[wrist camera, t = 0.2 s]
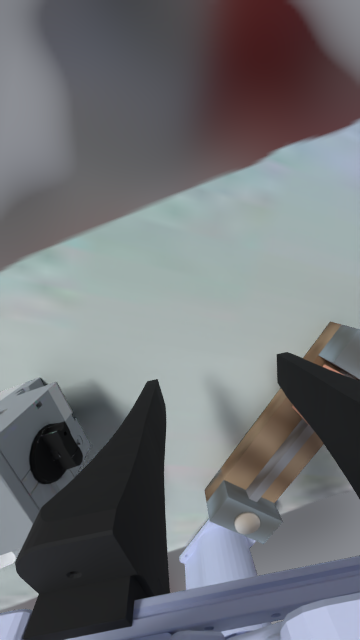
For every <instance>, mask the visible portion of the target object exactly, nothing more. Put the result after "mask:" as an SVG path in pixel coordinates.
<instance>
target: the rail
mask: <svg viewBox="0 0 360 640" xmlns="http://www.w3.org/2000/svg"><path fill="white" fill-rule="evenodd" d="M303 359H305V360H308V361H310V362H312V363H315V364H317V365H319V366H322V367H323V365H324V364H325V365H327V366H329V367H330V368H332V369H334V370H336V371H338V372H339V373H341V374H343V375H345V376H347V377H350V378H353V379H356V380H359V381H360V329H356V328H352V327H349V326H345V325H341V324H337V323H333V322H330V323H329V324H328V325H327V327H326V328H325V329H324V331H323V332H322V334H321V335H320V336H319V338H318V339H317V340H316V342H315V343H314V344H313V346H312V347H311V348H310V350H309V351H308V352H307V354H306V355H305V356H304V358H303ZM292 406H293V404H292V403H291V402H290V401H289V399H288V398H287V397H286V395H285V393H284V392H283V390H282V389H281V388H280V390H279V391H278V392H277V394H276V395H275V396H274V398H273V399H272V400H271V402H270V403H269V404H268V406H267V407H266V408H265V410H264V411H263V413H262V414H261V415H260V417H259V418H258V419H257V421H256V422H255V423H254V425H253V426H252V427H251V429H250V430H249V431H248V433H247V434H246V435H245V437H244V438H243V439H242V441H241V442H240V443H239V445H238V446H237V447H236V449H235V450H234V451H233V453H232V454H231V455H230V457H229V458H228V459H227V461H226V462H225V463H224V465H223V466H222V467H221V469H220V470H219V471H218V473H217V474H216V475H215V477H214V478H213V479H212V481H211V482H210V483H209V485H208V486H207V487H206V489H205V495H206V502H207V508H208V514H209V520H210V522H212V523H215V524H217V525H220V526H222V527H224V528H227V529H229V530H231V531H234V532H236V533H239V534H241V535H243V536H246V537H248V538H250V539H253V540H255V541H258V542H260V543H262V544H264V543H265V542H266V541H267V540H268V539H269V537H270V536H271V535H272V534H273V532H274V531H275V530H276V529H277V528H278V527H279V526H280V525H281V523H282V522H283V521H282V519H281V516H280V514H279V512H278V510H277V508H276V506H275V502H276V501H277V499H278V498H279V497H280V496H281V495H282V493H283V492H284V491H285V490H286V489H287V487H288V486H289V485H290V484H291V483H292V481H293V480H294V479H295V478H296V477H297V475H298V474H299V473H300V472H301V471H302V469H303V468H304V467H305V466H306V465H307V463H308V462H309V461H310V460H311V459H312V457H313V456H314V455H315V454H316V453H317V451H318V450H319V449H320V448H321V447H322V445H323V444H324V443H323V442H322V440H321V439H320V438H319V437H318V435H317V434H316V433H315V431H314V430H313V429H312V428H311V427H310V426H309V425H308V423H307V422H306V421H305V420H304V419H303V418H302V417H301V416H300V415H299V414H298V413H297V412H296V411H295V410H294V409H293V408H292Z"/></svg>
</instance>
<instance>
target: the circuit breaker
mask: <svg viewBox="0 0 360 640" xmlns="http://www.w3.org/2000/svg"><path fill="white" fill-rule="evenodd" d="M72 413H73V411H72V409H71V408H70V406H69V404H68V402H67V400H66V398H65V396H64V395H63V393H62V391H61V389H60V387H59V385H58V383H57V382H54V383H52V384H49V385H46V386H44V385H43V383H42V381H41V379H40V378H37V379H34V380H31V381H28V382H25V383H23V384H20V385H17V386H14V387H11V388H9V389H6V390H3V391H0V555H3V554H6V553H9V552H12V551H15V550H18V549H21V548H22V546H23V544H24V542H25V540H26V538H27V536H28V534H29V532H30V530H31V527H32V525H33V523H34V521H35V519H36V517H37V515H38V513H39V511H40V509H41V508H42V506H43V505H44V504H46V503H47V502H48V501H49V500H50V499H51V498H53V497H54V496H55V495H56V494H57V493H58V492H59V491H60V490H62V489H63V488H64V487H65V486H66V485H67V484H68V483H69V482H71V481H72V480H73V479H74V478H75V477H76V475H77V473H78V471H79V469H80V467H81V465H82V463H83V460H84V458H85V456H86V454H87V452H88V450H89V448H90V446H91V445H90V443H89V441H88V439H87V437H86V435H85V434H84V432H83V430H82V428H81V426H80V424H79V422H78V420H77V419H76V418H73V417H72Z"/></svg>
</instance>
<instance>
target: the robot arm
mask: <svg viewBox="0 0 360 640" xmlns="http://www.w3.org/2000/svg"><path fill="white" fill-rule="evenodd" d="M277 380H278V384H279V385H280V387H281V389H282V390H283V392H284V393H285V395H286V397H287V398H288V399H289V401H290V402H291V403H292V404H293V406H294V407H295V408H296V409H297V411H298V412H299V413H300V414H301V415H302V417H303V418H304V419H305V420H306V422H307V423H308V424H309V425H310V426H311V428H312V429H313V430H314V431H315V433H316V434H317V435H318V437H319V438H320V439H321V440H322V442H323V443H324V445H325V446H326V448H327V449H328V451H329V452H330V454H331V455H332V457H333V458H334V459H335V461H336V462H337V464H338V466H339V467H340V469H341V470H342V472H343V473H344V475H345V476H346V478H347V479H348V481H349V483H350V484H351V486H352V487H353V489H354V491H355V492H356V494H357V495H358V497H359V499H360V381H359V380H356V379H353V378H350V377H347V376H345V375H342V374H339V373H337V372H334V371H332V370H329V369H327V368H324V367H322V366H319V365H317V364H315V363H312V362H310V361H308V360H305V359H303V358H301V357H298V356H296V355H293V354H291V353H288V352H285V353H281V354H277ZM165 439H166V408H165V403H164V399H163V396H162V392H161V389H160V386H159V382H158V379H156V380H152V381H147V383H146V385H145V387H144V388H143V390H142V392H141V394H140V396H139V398H138V399H137V401H136V403H135V404H134V406H133V408H132V409H131V411H130V413H129V414H128V416H127V417H126V419H125V420H124V422H123V423H122V425H121V426H120V427H119V429H118V430H117V431H116V433H115V434H114V435H113V437H112V438H111V439H110V441H109V442H108V443H107V444H106V445H105V446H104V447H103V449H102V450H101V451H100V452H99V453H98V454H97V455H96V456H95V458H94V459H93V460H92V461H91V462H90V463H89V464H88V465H87V466H86V467H85V468H84V469H83V470H82V471H81V472H80V473H79V474H78V475H77V476H76V477H75V478H74V479H73V480H72V481H71V482H69V483H68V484H67V485H66V486H65V487H64V488H63V489H62V490H60V491H59V492H58V493H57V494H56V495H55V496H54V497H53V498H51V499H50V500H49V501H48V502H47V503H46V504H44V505H43V506H42V508H41V509H40V511H39V513H38V515H37V517H36V519H35V521H34V523H33V525H32V527H31V530H30V532H29V534H28V536H27V538H26V540H25V542H24V544H23V546H22V549H21V551H20V553H19V555H18V557H17V559H16V562H15V565H16V571H17V573H18V574H19V576H20V577H21V578H22V579H23V580H24V581H25V582H26V583H27V584H29V585H30V586H31V587H32V588H33V589H34V590H35V591H36V592H38V593H39V595H38V598H37V601H36V604H35V606H34V609H33V611H32V610H28V609H19V610H14V611H9V612H4V613H0V640H360V556H355V557H350V558H345V559H340V560H335V561H330V562H325V563H320V564H315V565H310V566H305V567H300V568H295V569H289V570H284V571H280V572H274V573H269V574H264V575H259V576H257V573H256V569H255V566H254V562H253V559H252V555H251V552H250V548H251V546H252V545H253V544H254V543H255V542H256V541H255V540H253V539H250V538H248V537H246V536H243V535H241V534H239V533H236V532H234V531H231V530H229V529H227V528H224V527H222V526H220V525H217V524H215V523H212V522H210V520H209V519H208V521H207V522H206V523H205V525H204V526H203V527H202V528H201V530H200V531H199V532H198V534H197V535H196V536H195V537H194V539H193V540H192V541H191V543H190V544H189V545H188V546H187V548H186V549H185V550H184V552H183V553H182V554H181V555H180V562H181V563H184V564H185V576H186V590H184V591H179V592H174V593H170V589H169V575H168V574H169V573H168V560H167V559H168V557H167V539H166V520H165V495H164V456H165ZM283 619H284V620H283ZM278 620H283V621H281V622H278V623H275V624H271V622H273V621H278Z"/></svg>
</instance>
